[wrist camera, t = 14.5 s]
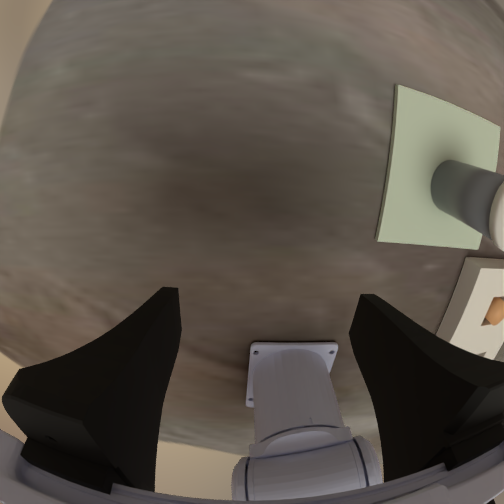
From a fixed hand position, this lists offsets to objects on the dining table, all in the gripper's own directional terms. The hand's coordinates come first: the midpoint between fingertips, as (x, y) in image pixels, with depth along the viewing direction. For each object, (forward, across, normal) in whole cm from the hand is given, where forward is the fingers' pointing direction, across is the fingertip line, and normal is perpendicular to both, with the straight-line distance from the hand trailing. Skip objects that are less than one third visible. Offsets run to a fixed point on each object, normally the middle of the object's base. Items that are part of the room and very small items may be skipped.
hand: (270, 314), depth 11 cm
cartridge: (+10, -15, -5) cm, 19 cm away
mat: (+10, -15, -6) cm, 19 cm away
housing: (+10, -26, +11) cm, 30 cm away
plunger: (+9, -26, +6) cm, 29 cm away
